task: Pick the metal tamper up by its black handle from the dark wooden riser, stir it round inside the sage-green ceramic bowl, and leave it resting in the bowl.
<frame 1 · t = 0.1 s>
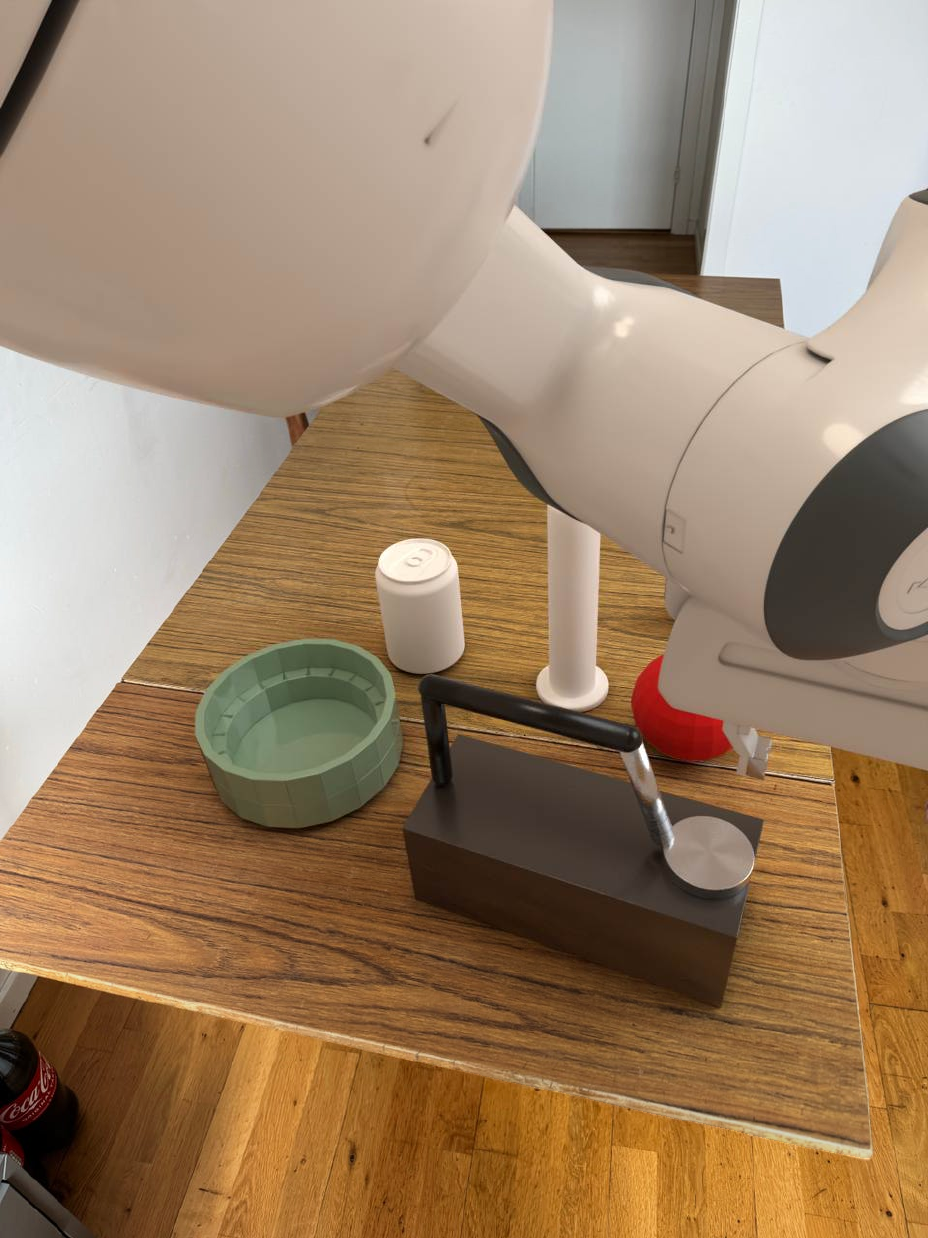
hand: (842, 792, 48), 23 cm above the table, tool pointing down, fingers open, 8 cm apart
riser: (579, 895, 70), on the table
metal tamper: (706, 861, 61), point 9 cm above the table, touching riser
candle: (572, 689, 88), on the table
bowl: (309, 756, 83), on the table
tomato: (686, 742, 82), on the table
egg: (695, 623, 94), on the table
beverage can: (426, 653, 94), on the table
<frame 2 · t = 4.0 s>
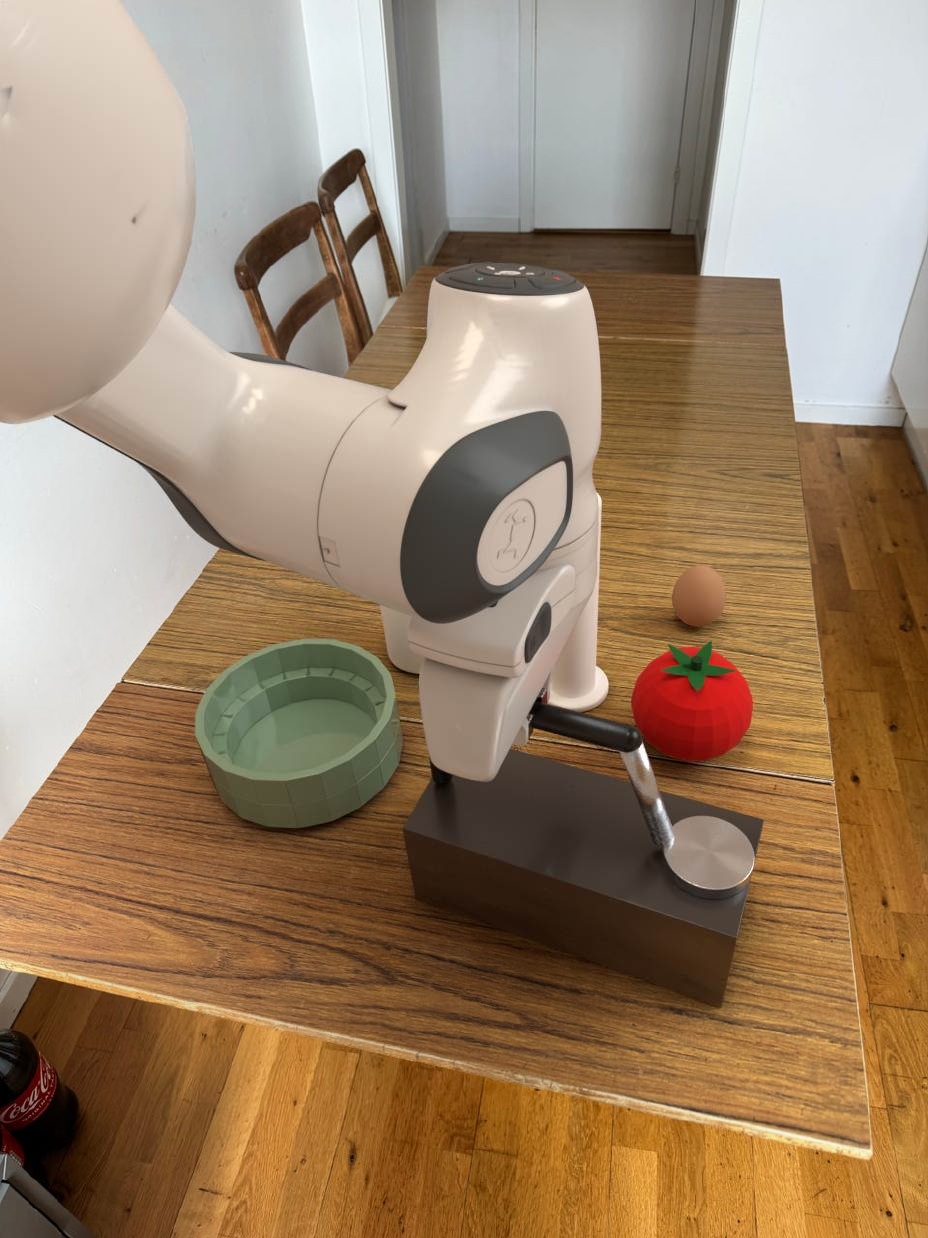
hand: (525, 721, 60), 18 cm above the table, tool pointing down, fingers closed on metal tamper
metal tamper: (706, 861, 61), point 9 cm above the table, touching gripper, riser
everything else where it was.
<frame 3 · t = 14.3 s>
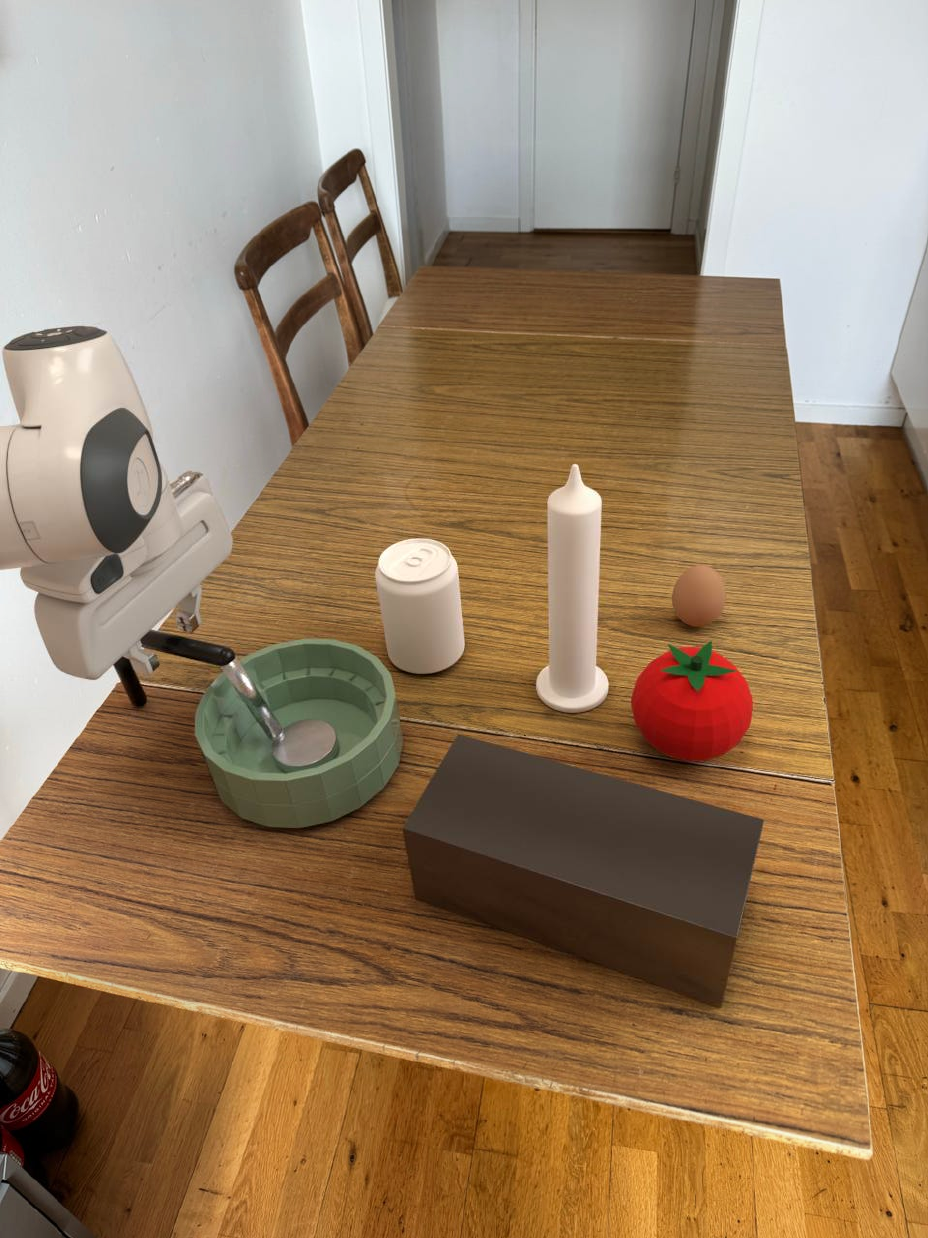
hand: (170, 648, 82), 10 cm above the table, tool pointing down, fingers open, 5 cm apart
metal tamper: (306, 750, 83), point 1 cm above the table, touching bowl
everything else where it was.
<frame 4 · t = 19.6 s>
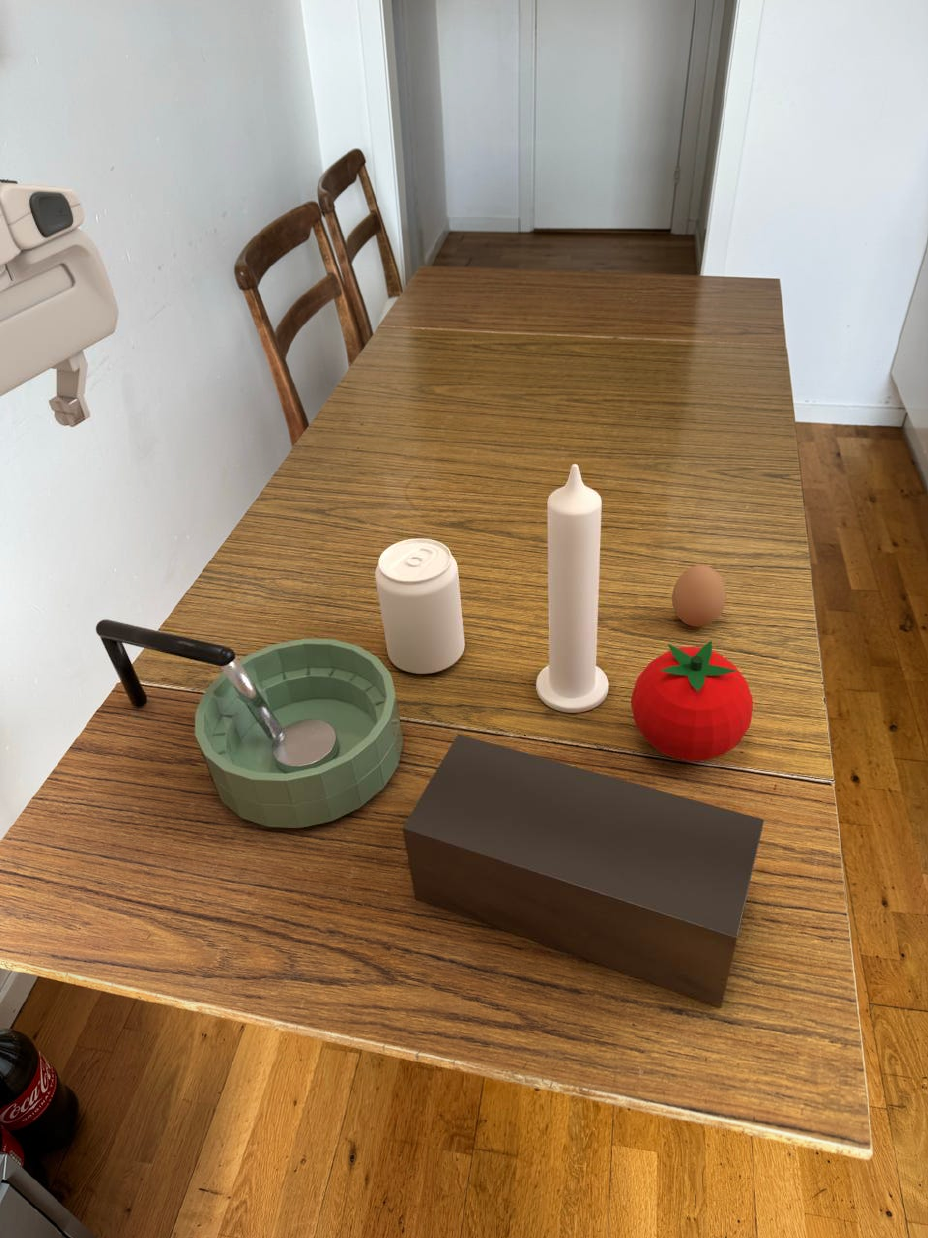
hand: (23, 454, 58), 35 cm above the table, tool pointing down, fingers open, 8 cm apart
nothing on the table moved.
at the end: metal tamper inside the target area in the bowl (0.1 cm from its centre), point 0.9 cm above the bowl's base; the gripper is holding nothing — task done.
